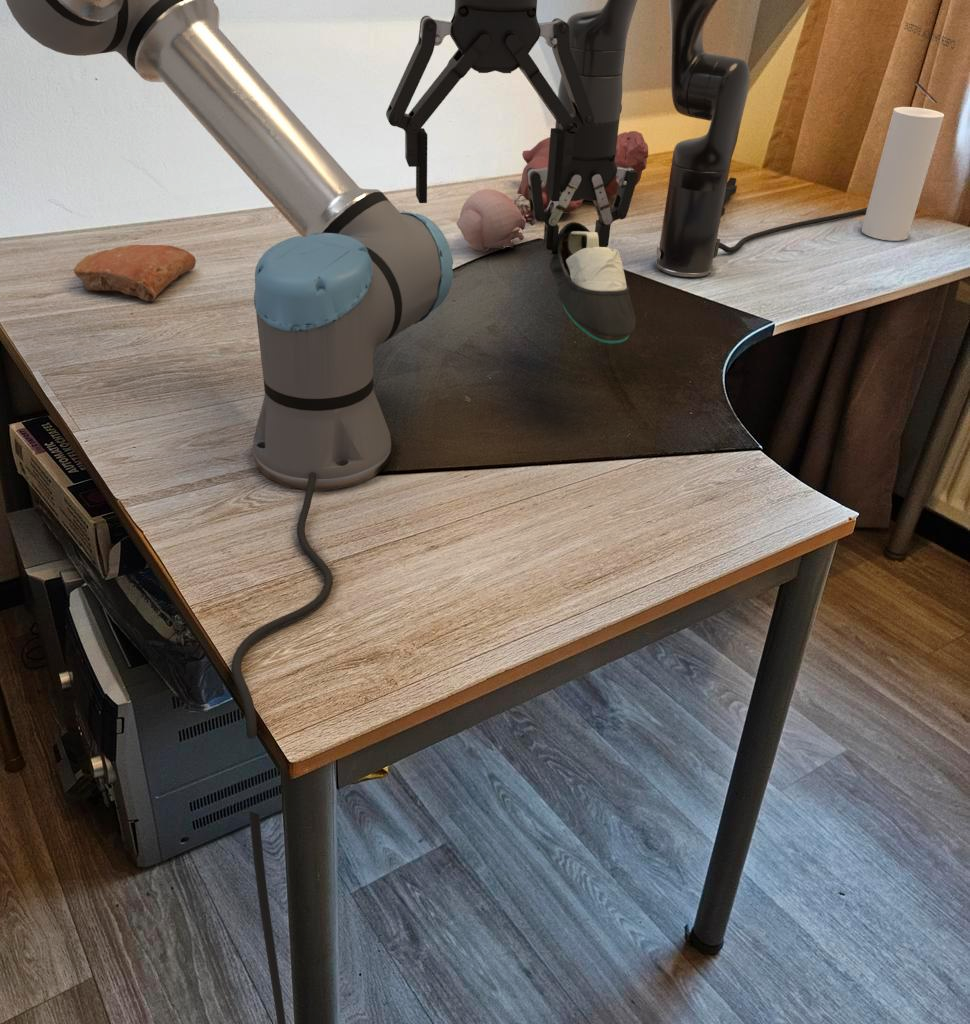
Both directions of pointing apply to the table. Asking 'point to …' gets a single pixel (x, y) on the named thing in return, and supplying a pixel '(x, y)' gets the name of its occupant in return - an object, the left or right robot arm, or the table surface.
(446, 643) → the table surface
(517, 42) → the left robot arm
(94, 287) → the ceramic shard
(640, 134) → the reddish-brown lumpy piece
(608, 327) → the ballet flat
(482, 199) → the toy
